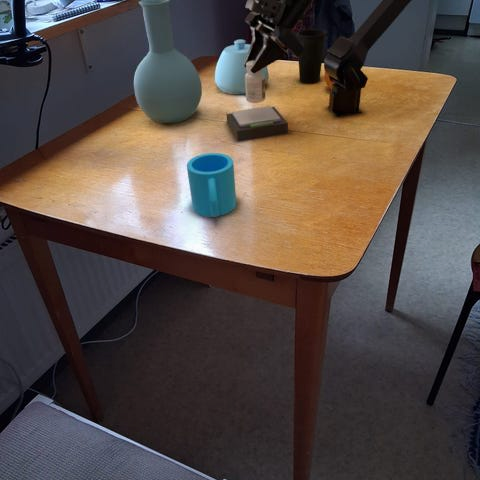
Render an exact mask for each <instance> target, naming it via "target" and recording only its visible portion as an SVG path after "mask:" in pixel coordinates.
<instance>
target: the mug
mask: <svg viewBox="0 0 480 480" xmlns="http://www.w3.org/2000/svg"><path fill="white" fill-rule="evenodd" d="M186 170H187V171H186V172H187V179H188V185H189V191H190V199H191V207H192V210H193V211H194V212H195V214H198V215H199V216H202V217H213V218H217V217H220V216H224V215H227V214H229V213H231V212H232V211H233V210H234V209H235V208H236V207H237V191H236V179H235V165H234V160H233V158H232V157H231V156H230V155H228V154H226V153H221V152H207V153H202V154H199V155H195V156H194V157H192V158H190V159H189V160H188V161H187V163H186Z"/></svg>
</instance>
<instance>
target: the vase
mask: <svg viewBox="0 0 480 480" xmlns="http://www.w3.org/2000/svg"><path fill="white" fill-rule="evenodd" d="M170 3H171V0H140V1H138V4H139V5H140V6H141V8H142V13H143V19H144V25H145V30H146V36H147V41H148V45H149V50H148V53H147V54H146V56H144V57H143V59H142V60H141V61H140V63H139V64H138V65H137V67H136V70H135V72H134V77H133V89H134V96H135V99H136V103H137V104H138V106H139V108H140V110H141V111H142V112H143V113H144V114H145V115H146V116H147V118H149V119H151V120H153V121H154V122H156V123H159V124H160V123H161V124H174V123H175V124H176V123H180V122H183V121H186V120H187V119H189V118H191V117H192V116H193V115H194V114H195V112H196V111H197V109H198V107H199V105H200V103H201V101H202V96H203V86H202V80H201V77H200V74H199V73H198V70H197V68H196V66H195V65H194V64H193V62H192V61H191V60H190V59H189V58H187V56H185V55H184V54H182V53H181V52H179V51H178V50H177V48H175V45H174V38H173V37H174V36H173V29H172V20H171V18H172V17H171V13H170V12H171V11H170V7H169V6H170V5H169V4H170Z"/></svg>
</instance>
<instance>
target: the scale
mask: <svg viewBox="0 0 480 480" xmlns="http://www.w3.org/2000/svg"><path fill="white" fill-rule="evenodd" d="M225 117H226V125H227V126H228V128H229V130H230V132H231V134H232V135H233V136H234V138H235V140H236V141H237V142H244V141H251V140H256V139H261V138H268V137H269V138H270V137H274V136H280V135H281V136H282V135H287V134H289V122H288V121H287V120H286V118H284V116H283V115H282V114H281V113H280V112H279V110H278V109H277V108H276V107H275V106H271V105H266V106H260V107H252V108H247V109H240V110H239V109H238V110H233V111H231V113H226V114H225Z"/></svg>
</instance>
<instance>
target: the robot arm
mask: <svg viewBox="0 0 480 480" xmlns="http://www.w3.org/2000/svg"><path fill="white" fill-rule="evenodd" d="M314 1H315V0H246V3H245V6H244V7H245V9H248V10H249V11H250V12H249V13H248V14H247V16H246V17H245V18H244V22H245V23H247V25H248V26H249V30H250V31H251V41H250V48H249V51H248V54H247V57H246V60H245V63H244V67H245V68H246V63H247V62H249V61H253V60H255V61H254V63H253V65H252V67H251V69H250V71H251V72H252V73H256V72H258V71H260V70H261V69H263V68H265V67H266V66H267V67H268V66H270V65H271V64H273V63H275V62H277V61H279V60H281V59H282V58H285V57H286V58H287V57H289V55H288V53H287V51H290V55H291V56H292V57H294V58H296V59H298V57H299V56H300V55H301V53H302V52H303V50H304V43H303V42H302V41H301V40H300V39H299V37H298V36H297V33H295V32H294V30H295V28H296V27H297V25H298V24H299V23H300V22H301V23H305V21H306V19H307V18H306V16H305V14H306V12H307V11H308V10H309V8H310V6H311V5H312V4H313V2H314ZM412 1H413V0H381V2H380V3H379V4H377V6H376V8H374V10H373V11H372V12H371V13H370V14H369V16H368V17H367V18H366V19H365V20H364V22H363V23H362V24H361V25H360V26H359V28H358V29H357V30H356V31H355V32H354V34H352V35H351V36H350V37H347V38H346V37H344V36H341V35H340V36H339V37H337V39H335V42H334V43H333V45H332V46H330V47H329V48H328V49H327V50H326V52H328V53H326V55H325V57H324V59H323V69H324V73H325V72H326V73H327V74H328V76H329V79H330V81H331V82H334V83H335V84H332V89H331V91H329V98H328V101H329V102H328V106H327V109H328V110H329V111H330V112H331V113H332V114H333V115H334V116H335V117H338V118H340V117H346V116H352V115H359V114H362V112H363V110H362V109H361V108H360V106H361V105H360V104H361V95H362V89H365V88H366V86H367V83H368V80H369V78H368V76H367V75H366V74H365V73H364V71H363V70H362V68H363V67H364V65H365V62H366V59H367V56H368V52H369V51H370V49H371V48H372V47H373V46H374V45H375V43H376V42H378V40H379V39H380V38H381V37H382V36H383V35H384V33H385V32H386V31H387V30H388V29H389V27H390V26H391V25H392V24H393V23H394V22H395V21H396V20H397V18H398V17H399V16H400V15H401V14H402V12H403V11H404V10H405V9H406V8H407V7H408V5H410V3H411V2H412Z"/></svg>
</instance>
